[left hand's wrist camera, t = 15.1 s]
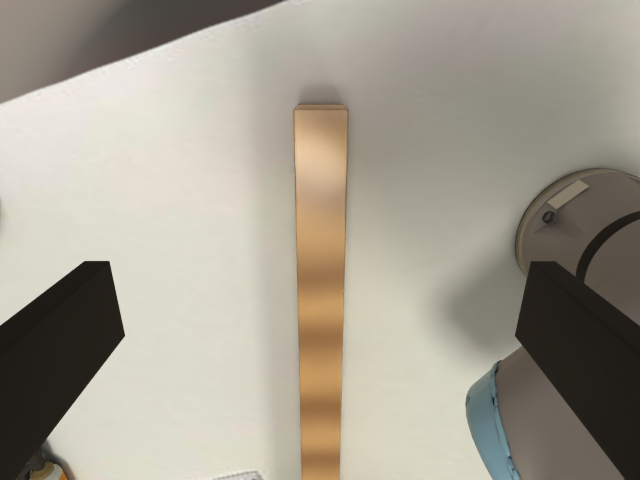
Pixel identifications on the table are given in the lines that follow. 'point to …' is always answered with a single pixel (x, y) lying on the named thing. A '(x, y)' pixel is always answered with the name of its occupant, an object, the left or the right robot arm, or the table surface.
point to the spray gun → (41, 469)
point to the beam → (320, 280)
